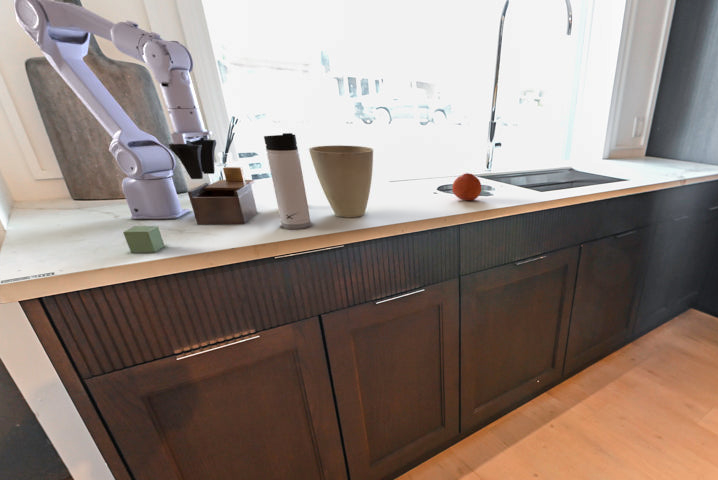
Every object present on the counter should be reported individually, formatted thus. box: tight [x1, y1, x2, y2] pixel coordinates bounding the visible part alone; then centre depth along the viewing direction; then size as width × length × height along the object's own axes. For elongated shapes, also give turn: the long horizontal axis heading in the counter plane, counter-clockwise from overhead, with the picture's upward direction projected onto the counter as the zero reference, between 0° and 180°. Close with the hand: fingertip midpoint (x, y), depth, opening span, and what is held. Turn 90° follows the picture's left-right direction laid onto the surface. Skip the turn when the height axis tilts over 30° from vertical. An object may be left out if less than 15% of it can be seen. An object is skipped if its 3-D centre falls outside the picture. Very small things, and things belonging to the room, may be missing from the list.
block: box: [122, 225, 165, 254], centre depth 81 cm, size 4×4×4 cm
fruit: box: [451, 172, 482, 201], centre depth 131 cm, size 9×9×8 cm
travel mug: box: [263, 132, 312, 230], centre depth 95 cm, size 6×7×20 cm
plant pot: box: [308, 144, 374, 218], centre depth 108 cm, size 15×15×16 cm
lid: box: [205, 166, 256, 190], centre depth 106 cm, size 8×11×4 cm
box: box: [187, 182, 258, 225], centre depth 102 cm, size 10×11×7 cm
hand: (203, 176), depth 96 cm, fingers open, 7 cm apart
